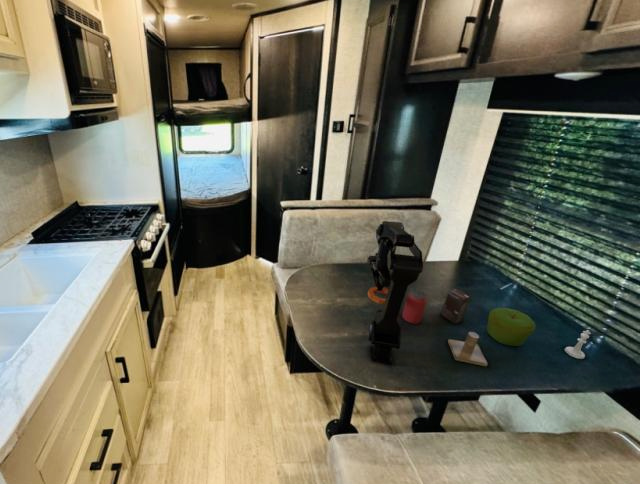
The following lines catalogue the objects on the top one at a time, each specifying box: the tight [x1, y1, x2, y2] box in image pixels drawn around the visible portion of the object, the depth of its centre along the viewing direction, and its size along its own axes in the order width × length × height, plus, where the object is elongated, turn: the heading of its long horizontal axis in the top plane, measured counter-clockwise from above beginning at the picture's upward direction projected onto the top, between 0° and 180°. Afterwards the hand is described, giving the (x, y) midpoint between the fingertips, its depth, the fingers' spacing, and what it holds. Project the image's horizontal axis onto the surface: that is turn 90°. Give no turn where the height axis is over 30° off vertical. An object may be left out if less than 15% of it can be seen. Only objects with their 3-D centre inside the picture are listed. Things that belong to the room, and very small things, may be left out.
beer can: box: [401, 289, 428, 324], centre depth 120 cm, size 7×7×12 cm
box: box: [440, 287, 471, 325], centre depth 121 cm, size 6×4×12 cm
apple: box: [486, 307, 537, 347], centre depth 110 cm, size 12×12×11 cm
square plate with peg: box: [447, 331, 488, 367], centre depth 105 cm, size 9×9×8 cm
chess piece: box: [564, 329, 592, 360], centre depth 104 cm, size 5×5×10 cm
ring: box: [367, 286, 389, 305], centre depth 118 cm, size 9×9×2 cm
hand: (378, 289), depth 121 cm, fingers closed on ring, 1 cm apart
